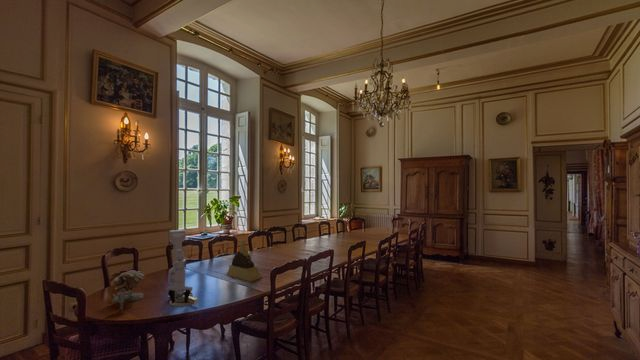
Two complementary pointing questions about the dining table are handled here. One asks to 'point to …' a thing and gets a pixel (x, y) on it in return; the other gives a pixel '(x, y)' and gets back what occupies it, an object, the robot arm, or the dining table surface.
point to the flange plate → (180, 303)
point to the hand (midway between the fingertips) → (179, 302)
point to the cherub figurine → (128, 285)
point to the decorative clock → (243, 265)
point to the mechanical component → (122, 297)
